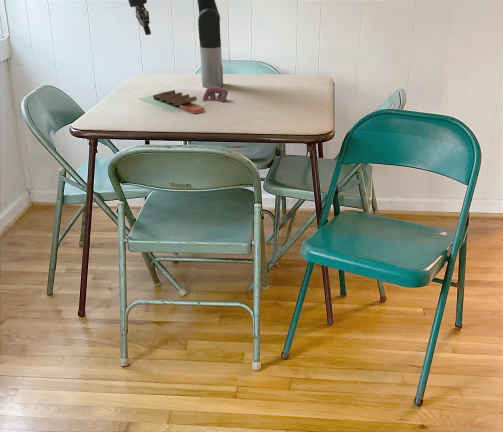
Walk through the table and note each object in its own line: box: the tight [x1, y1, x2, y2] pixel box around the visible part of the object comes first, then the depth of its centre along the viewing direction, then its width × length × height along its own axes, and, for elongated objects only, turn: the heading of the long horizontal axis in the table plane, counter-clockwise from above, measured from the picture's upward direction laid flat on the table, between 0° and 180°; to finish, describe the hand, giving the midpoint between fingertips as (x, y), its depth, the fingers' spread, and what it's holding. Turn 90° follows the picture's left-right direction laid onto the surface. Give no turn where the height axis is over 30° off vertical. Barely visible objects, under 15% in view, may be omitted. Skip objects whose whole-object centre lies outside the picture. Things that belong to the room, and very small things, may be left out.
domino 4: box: [173, 96, 198, 106], centre depth 250 cm, size 2×5×10 cm
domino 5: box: [179, 103, 205, 115], centre depth 247 cm, size 2×5×10 cm
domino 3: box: [166, 94, 190, 104], centre depth 254 cm, size 2×5×10 cm
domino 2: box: [159, 92, 183, 101], centre depth 258 cm, size 2×5×10 cm
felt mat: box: [137, 94, 205, 114], centre depth 259 cm, size 30×14×1 cm, turn 39°
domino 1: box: [152, 89, 176, 99], centre depth 261 cm, size 2×5×10 cm
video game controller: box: [202, 86, 229, 103], centre depth 260 cm, size 10×5×7 cm, turn 66°
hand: (148, 34), depth 274 cm, fingers closed
